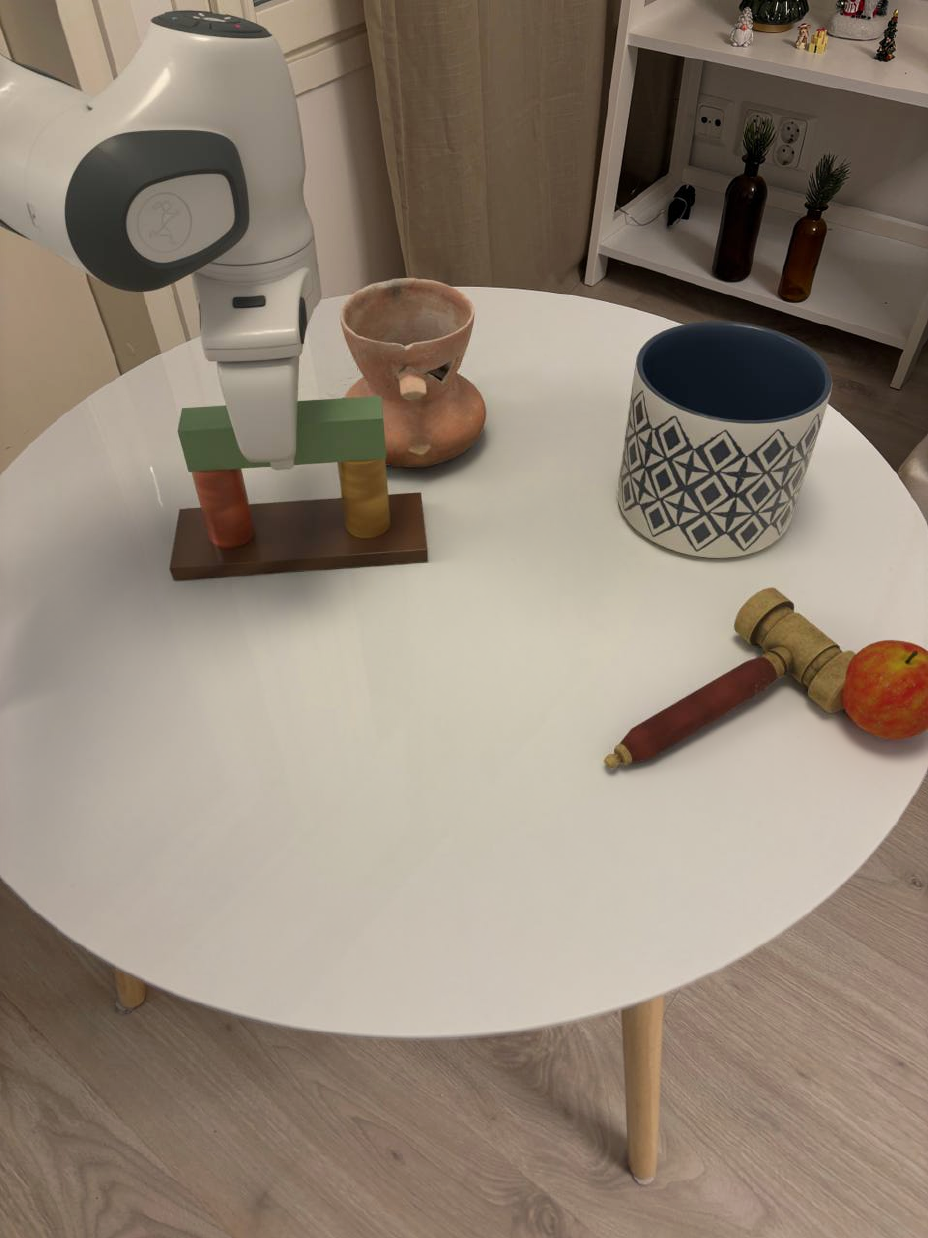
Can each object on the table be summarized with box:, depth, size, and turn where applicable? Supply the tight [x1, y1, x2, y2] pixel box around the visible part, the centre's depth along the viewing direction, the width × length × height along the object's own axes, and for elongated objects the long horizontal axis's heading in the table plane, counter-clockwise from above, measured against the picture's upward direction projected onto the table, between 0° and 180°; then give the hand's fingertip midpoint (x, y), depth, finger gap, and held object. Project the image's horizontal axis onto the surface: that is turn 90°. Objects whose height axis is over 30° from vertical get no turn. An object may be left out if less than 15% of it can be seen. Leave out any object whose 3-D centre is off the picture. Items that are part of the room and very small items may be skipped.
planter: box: [617, 320, 833, 559], centre depth 82 cm, size 16×16×14 cm
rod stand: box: [169, 459, 429, 582], centre depth 81 cm, size 22×8×10 cm, turn 96°
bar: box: [177, 396, 386, 473], centre depth 76 cm, size 16×3×4 cm, turn 96°
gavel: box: [603, 587, 857, 769], centre depth 69 cm, size 21×5×10 cm
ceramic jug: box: [339, 277, 487, 468], centre depth 90 cm, size 18×14×14 cm
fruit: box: [841, 639, 928, 740], centre depth 67 cm, size 7×7×8 cm
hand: (284, 439), depth 76 cm, fingers open, 5 cm apart
